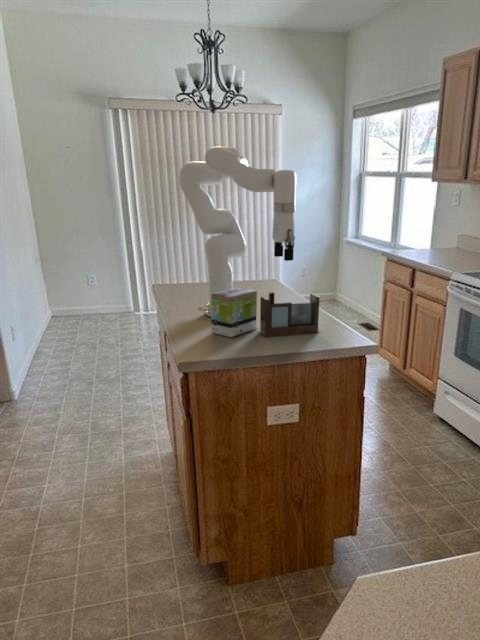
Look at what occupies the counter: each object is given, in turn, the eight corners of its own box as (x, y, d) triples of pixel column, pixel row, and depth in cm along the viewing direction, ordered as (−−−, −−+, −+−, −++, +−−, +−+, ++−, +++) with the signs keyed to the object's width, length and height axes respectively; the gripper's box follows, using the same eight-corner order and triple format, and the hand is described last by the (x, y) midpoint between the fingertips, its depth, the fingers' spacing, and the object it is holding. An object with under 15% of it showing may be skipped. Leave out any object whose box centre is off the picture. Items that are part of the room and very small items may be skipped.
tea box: (233, 338, 189) (232, 297, 184) (211, 333, 194) (209, 293, 188) (257, 328, 201) (257, 289, 196) (236, 324, 206) (235, 286, 200)
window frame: (265, 336, 192) (265, 299, 187) (260, 332, 197) (260, 296, 192) (317, 332, 198) (319, 296, 193) (311, 328, 204) (313, 293, 199)
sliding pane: (268, 331, 192) (269, 293, 187) (267, 330, 194) (267, 292, 188) (291, 329, 195) (292, 292, 190) (289, 328, 196) (290, 291, 191)
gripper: (265, 206, 191) (265, 255, 197) (283, 210, 176) (282, 262, 182) (285, 206, 194) (284, 254, 200) (304, 209, 179) (302, 261, 185)
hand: (283, 258), depth 191 cm, fingers open, 9 cm apart
